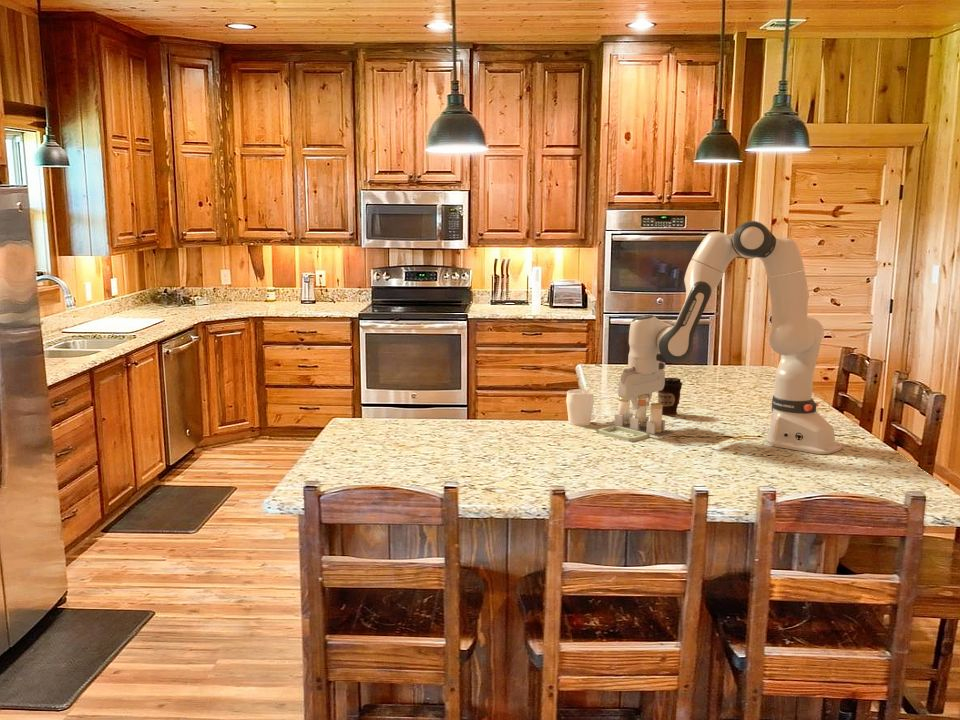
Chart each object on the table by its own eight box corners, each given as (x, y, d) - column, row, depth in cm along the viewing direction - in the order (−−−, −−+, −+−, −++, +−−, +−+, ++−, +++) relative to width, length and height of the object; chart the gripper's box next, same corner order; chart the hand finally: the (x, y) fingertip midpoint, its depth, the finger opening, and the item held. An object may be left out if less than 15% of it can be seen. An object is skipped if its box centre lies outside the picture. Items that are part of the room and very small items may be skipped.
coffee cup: (673, 418, 298) (675, 382, 296) (651, 415, 303) (653, 379, 301) (684, 414, 305) (686, 378, 302) (662, 410, 310) (664, 375, 307)
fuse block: (674, 436, 275) (675, 421, 274) (659, 441, 269) (659, 425, 269) (620, 423, 291) (620, 409, 290) (604, 427, 286) (605, 413, 285)
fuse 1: (631, 424, 284) (632, 397, 283) (624, 425, 282) (625, 399, 280) (622, 421, 287) (623, 395, 286) (615, 423, 285) (616, 397, 283)
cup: (561, 428, 284) (562, 393, 282) (571, 422, 292) (572, 388, 290) (587, 432, 280) (588, 396, 278) (596, 425, 288) (597, 390, 286)
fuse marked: (648, 421, 279) (649, 394, 277) (641, 423, 277) (642, 396, 275) (639, 419, 282) (640, 392, 280) (632, 421, 279) (633, 394, 278)
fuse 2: (663, 431, 275) (664, 404, 273) (656, 433, 273) (657, 406, 271) (654, 429, 278) (655, 402, 276) (647, 431, 275) (648, 404, 274)
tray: (649, 441, 269) (649, 433, 269) (631, 446, 263) (631, 438, 263) (614, 432, 280) (614, 425, 279) (596, 437, 274) (596, 429, 273)
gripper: (629, 371, 267) (628, 414, 269) (668, 363, 280) (667, 404, 283) (613, 368, 271) (612, 411, 274) (652, 360, 285) (651, 401, 287)
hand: (640, 407), depth 278 cm, fingers closed on fuse marked, 4 cm apart
